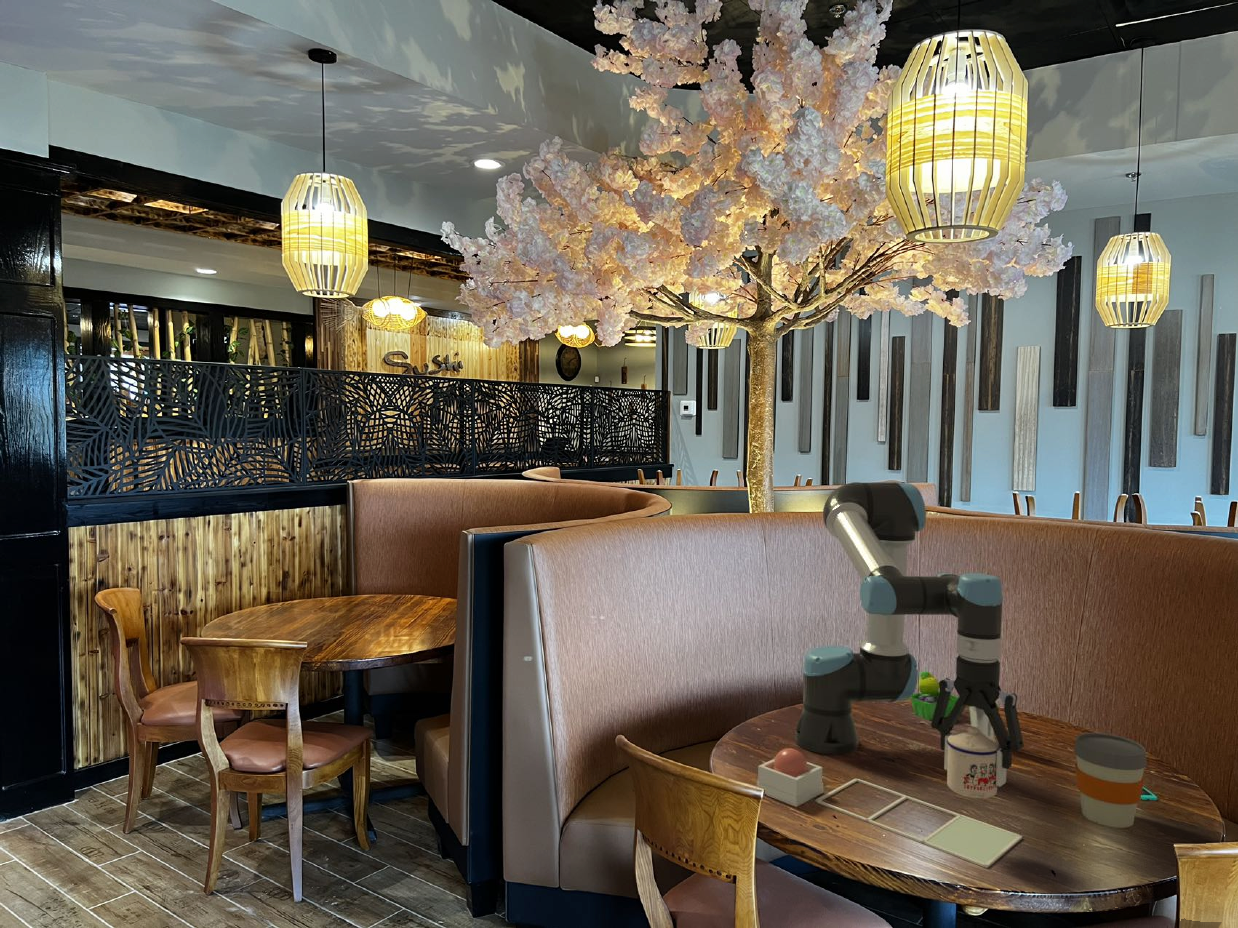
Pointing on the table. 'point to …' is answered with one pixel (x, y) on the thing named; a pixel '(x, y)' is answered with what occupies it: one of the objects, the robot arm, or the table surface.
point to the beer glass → (981, 721)
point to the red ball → (790, 762)
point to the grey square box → (790, 784)
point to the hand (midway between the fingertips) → (974, 775)
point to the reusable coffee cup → (1109, 777)
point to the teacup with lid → (972, 763)
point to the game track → (948, 831)
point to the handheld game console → (1147, 795)
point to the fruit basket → (929, 697)
